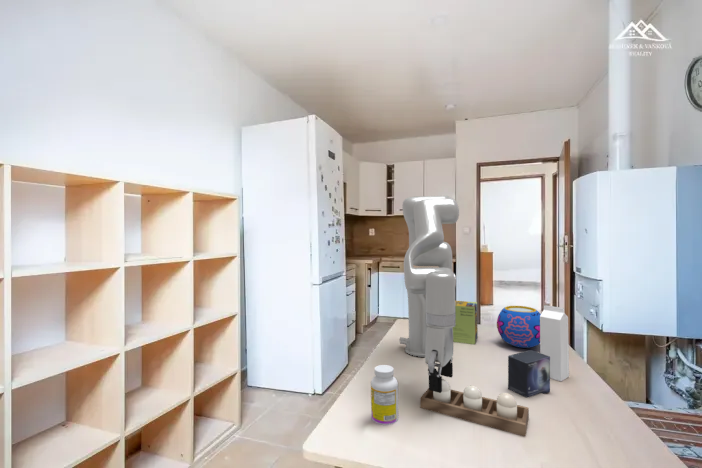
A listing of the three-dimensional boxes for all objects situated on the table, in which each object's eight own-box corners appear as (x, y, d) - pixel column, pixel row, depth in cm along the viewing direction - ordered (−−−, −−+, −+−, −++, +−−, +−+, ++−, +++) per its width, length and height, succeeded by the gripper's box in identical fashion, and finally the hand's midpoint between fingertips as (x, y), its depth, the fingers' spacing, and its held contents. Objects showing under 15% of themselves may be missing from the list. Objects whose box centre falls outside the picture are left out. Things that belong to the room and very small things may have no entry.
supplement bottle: (378, 410, 87) (377, 361, 87) (402, 417, 84) (401, 366, 84) (366, 423, 81) (365, 370, 81) (391, 431, 78) (391, 376, 78)
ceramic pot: (547, 343, 138) (546, 306, 138) (544, 356, 123) (544, 315, 123) (500, 336, 147) (500, 302, 147) (493, 348, 132) (493, 310, 132)
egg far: (495, 423, 79) (495, 395, 79) (498, 414, 83) (498, 387, 83) (516, 428, 77) (515, 399, 77) (518, 419, 81) (517, 392, 81)
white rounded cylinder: (431, 406, 88) (430, 380, 88) (436, 399, 91) (436, 374, 91) (447, 410, 85) (447, 384, 85) (452, 403, 89) (452, 378, 89)
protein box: (475, 344, 137) (475, 306, 137) (437, 340, 144) (437, 303, 144) (478, 337, 147) (477, 301, 147) (442, 333, 153) (441, 299, 153)
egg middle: (461, 414, 84) (461, 387, 83) (466, 406, 87) (465, 380, 87) (480, 419, 81) (479, 391, 81) (483, 410, 85) (483, 384, 85)
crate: (420, 410, 87) (420, 397, 87) (431, 396, 94) (431, 384, 94) (525, 439, 74) (525, 425, 74) (528, 421, 81) (528, 407, 81)
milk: (561, 382, 102) (560, 309, 102) (540, 375, 107) (539, 306, 107) (569, 376, 106) (568, 306, 106) (548, 370, 111) (547, 303, 111)
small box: (527, 401, 91) (527, 362, 91) (506, 391, 97) (506, 355, 97) (551, 392, 96) (551, 355, 96) (530, 383, 101) (529, 349, 101)
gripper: (436, 309, 98) (437, 368, 98) (414, 325, 83) (415, 393, 84) (463, 313, 94) (463, 373, 94) (445, 329, 79) (445, 401, 80)
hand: (441, 383), depth 89 cm, fingers open, 9 cm apart
